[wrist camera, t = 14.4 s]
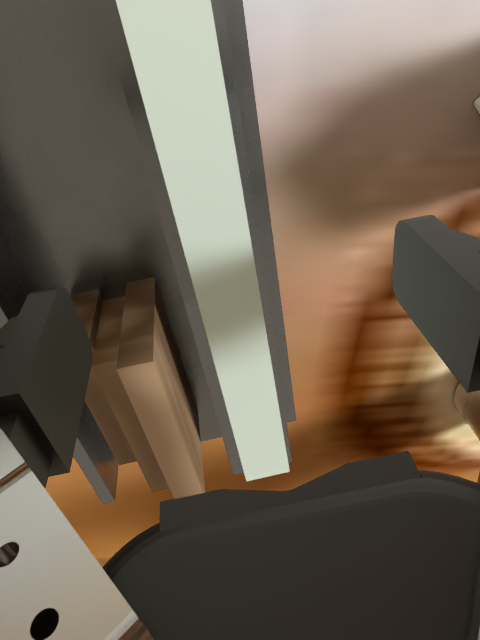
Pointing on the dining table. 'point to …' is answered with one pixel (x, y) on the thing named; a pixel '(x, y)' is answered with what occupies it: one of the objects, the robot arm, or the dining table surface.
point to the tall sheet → (209, 210)
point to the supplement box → (477, 104)
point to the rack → (116, 193)
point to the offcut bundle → (142, 387)
